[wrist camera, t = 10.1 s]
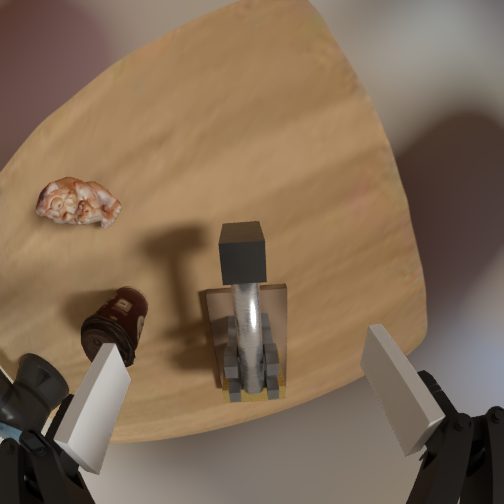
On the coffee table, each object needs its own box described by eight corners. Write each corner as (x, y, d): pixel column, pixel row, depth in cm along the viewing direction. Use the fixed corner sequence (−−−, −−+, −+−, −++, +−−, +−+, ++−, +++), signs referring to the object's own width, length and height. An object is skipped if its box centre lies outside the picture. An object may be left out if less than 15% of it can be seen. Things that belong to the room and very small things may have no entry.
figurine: (118, 225, 37) (64, 264, 23) (82, 196, 35) (20, 222, 21) (138, 192, 36) (86, 216, 22) (101, 162, 34) (37, 173, 20)
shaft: (238, 370, 38) (239, 406, 31) (222, 223, 30) (218, 243, 24) (266, 368, 38) (270, 404, 31) (258, 221, 30) (264, 240, 24)
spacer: (226, 363, 45) (224, 402, 36) (224, 351, 44) (222, 390, 35) (278, 360, 45) (285, 398, 37) (277, 347, 44) (285, 385, 36)
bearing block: (223, 386, 49) (221, 440, 37) (206, 289, 41) (196, 343, 29) (284, 382, 49) (294, 435, 37) (285, 283, 42) (303, 335, 29)
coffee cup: (166, 304, 42) (144, 358, 30) (140, 332, 44) (117, 384, 32) (124, 270, 40) (87, 314, 27) (101, 301, 41) (67, 347, 29)
